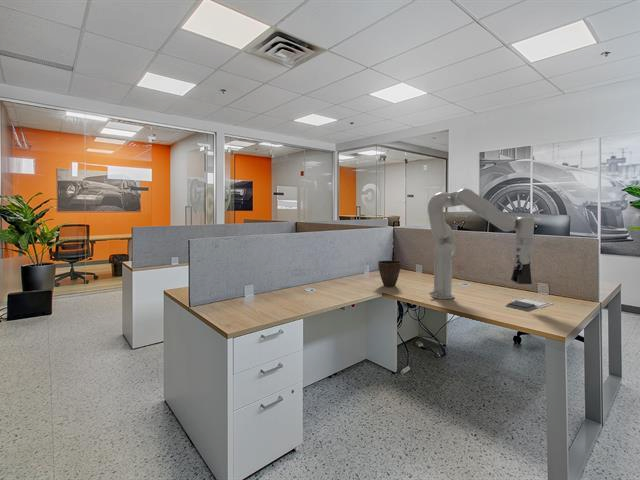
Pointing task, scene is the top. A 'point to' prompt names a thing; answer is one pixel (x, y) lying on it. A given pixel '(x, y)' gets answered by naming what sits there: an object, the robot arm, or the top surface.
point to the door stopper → (523, 275)
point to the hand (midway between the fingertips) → (521, 276)
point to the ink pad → (521, 305)
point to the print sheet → (533, 302)
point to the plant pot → (389, 272)
